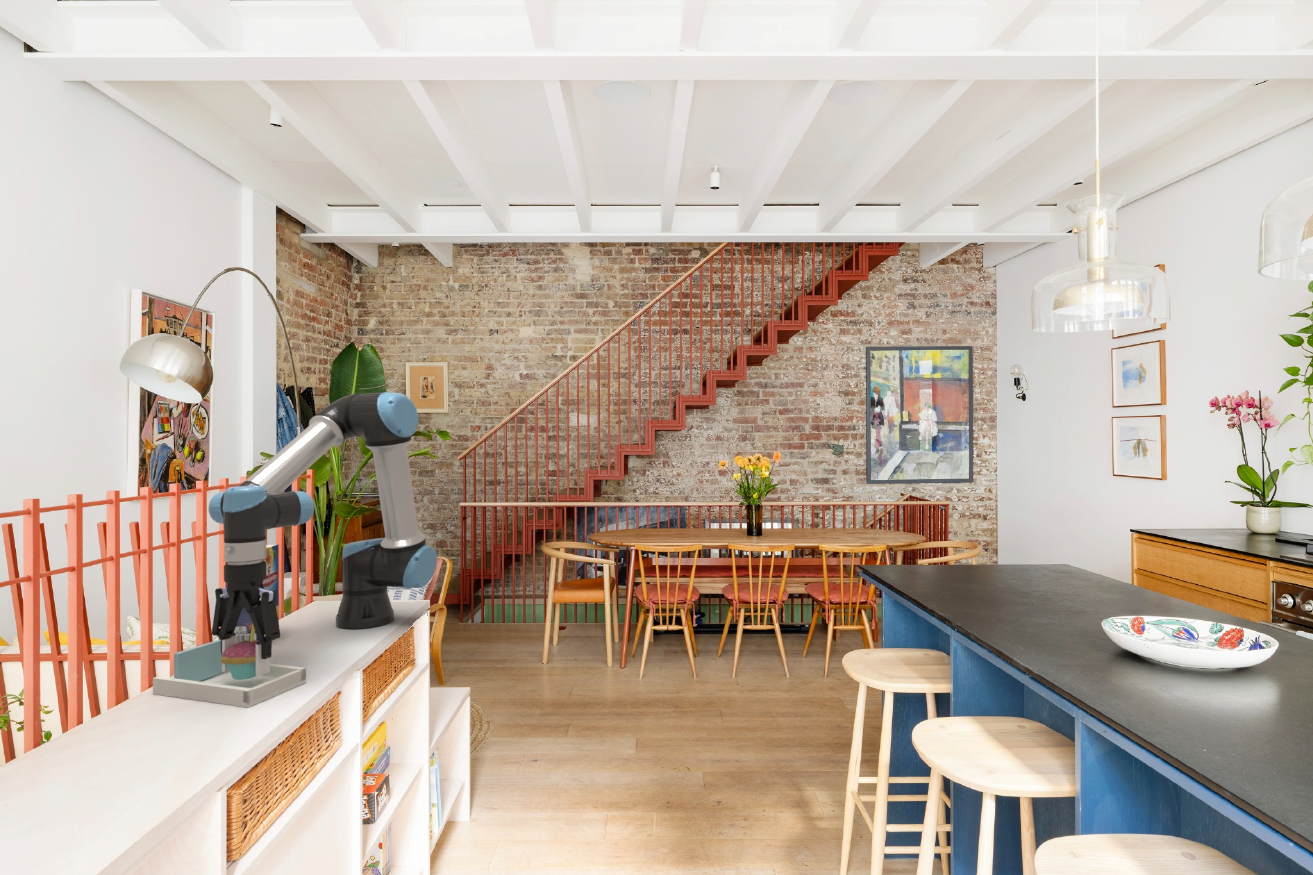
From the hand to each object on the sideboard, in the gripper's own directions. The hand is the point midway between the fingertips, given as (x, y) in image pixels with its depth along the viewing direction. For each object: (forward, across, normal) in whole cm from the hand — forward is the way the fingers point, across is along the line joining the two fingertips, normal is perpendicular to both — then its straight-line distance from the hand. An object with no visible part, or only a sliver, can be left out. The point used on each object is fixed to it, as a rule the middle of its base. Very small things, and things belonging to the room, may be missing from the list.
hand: (246, 671), depth 141 cm
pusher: (+3, -14, 0) cm, 14 cm away
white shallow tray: (+4, -4, 0) cm, 5 cm away
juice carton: (+4, -28, +27) cm, 39 cm away
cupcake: (+1, 0, 0) cm, 1 cm away
